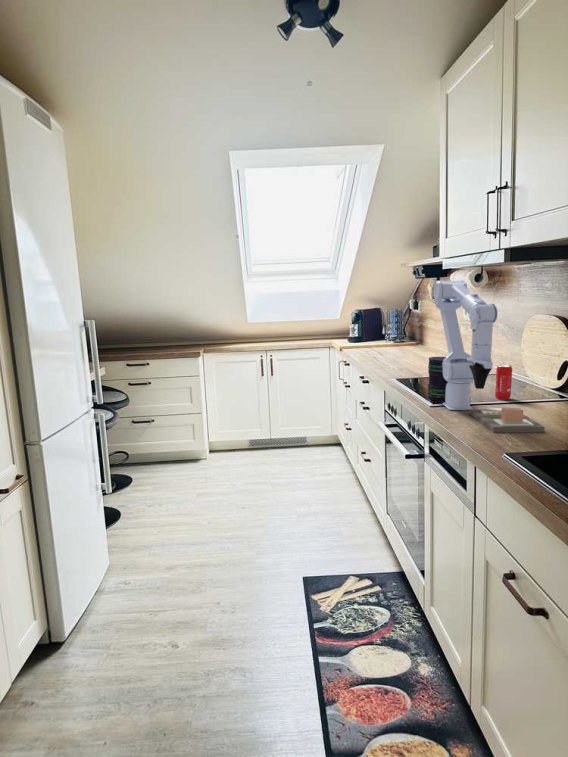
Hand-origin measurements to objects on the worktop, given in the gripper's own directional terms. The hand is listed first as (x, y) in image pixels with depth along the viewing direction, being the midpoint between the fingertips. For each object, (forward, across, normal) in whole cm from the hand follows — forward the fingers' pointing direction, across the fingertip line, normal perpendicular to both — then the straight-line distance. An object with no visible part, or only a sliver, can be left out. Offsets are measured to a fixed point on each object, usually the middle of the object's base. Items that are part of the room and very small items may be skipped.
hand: (479, 388), depth 158 cm
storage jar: (+10, -28, -4) cm, 30 cm away
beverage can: (+10, -28, +18) cm, 35 cm away
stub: (+8, +12, +6) cm, 15 cm away
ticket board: (+9, +5, +6) cm, 12 cm away
